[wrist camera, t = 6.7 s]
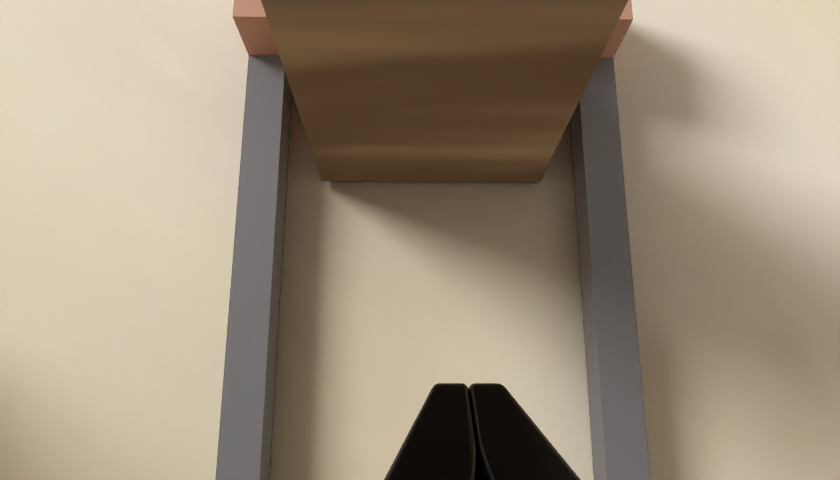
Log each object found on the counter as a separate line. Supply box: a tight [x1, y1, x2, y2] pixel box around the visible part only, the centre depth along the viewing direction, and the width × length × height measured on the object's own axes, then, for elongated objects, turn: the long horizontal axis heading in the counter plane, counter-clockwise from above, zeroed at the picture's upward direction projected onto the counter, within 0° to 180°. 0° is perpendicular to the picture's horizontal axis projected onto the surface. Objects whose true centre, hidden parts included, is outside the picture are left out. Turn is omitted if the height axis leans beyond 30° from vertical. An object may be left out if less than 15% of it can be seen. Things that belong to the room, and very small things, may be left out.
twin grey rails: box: [216, 0, 650, 480], centre depth 17 cm, size 18×10×3 cm, turn 0°
